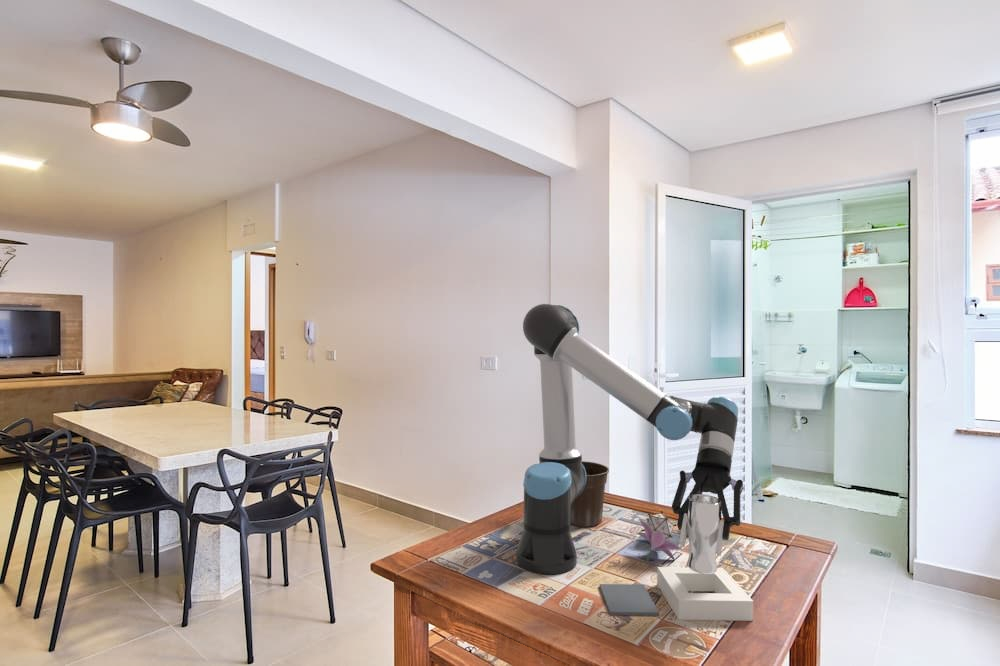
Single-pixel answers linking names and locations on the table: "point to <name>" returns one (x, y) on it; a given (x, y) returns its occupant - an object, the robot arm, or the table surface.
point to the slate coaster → (628, 599)
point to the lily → (658, 540)
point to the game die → (661, 524)
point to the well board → (704, 595)
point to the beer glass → (703, 532)
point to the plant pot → (590, 497)
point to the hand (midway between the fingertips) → (699, 548)
